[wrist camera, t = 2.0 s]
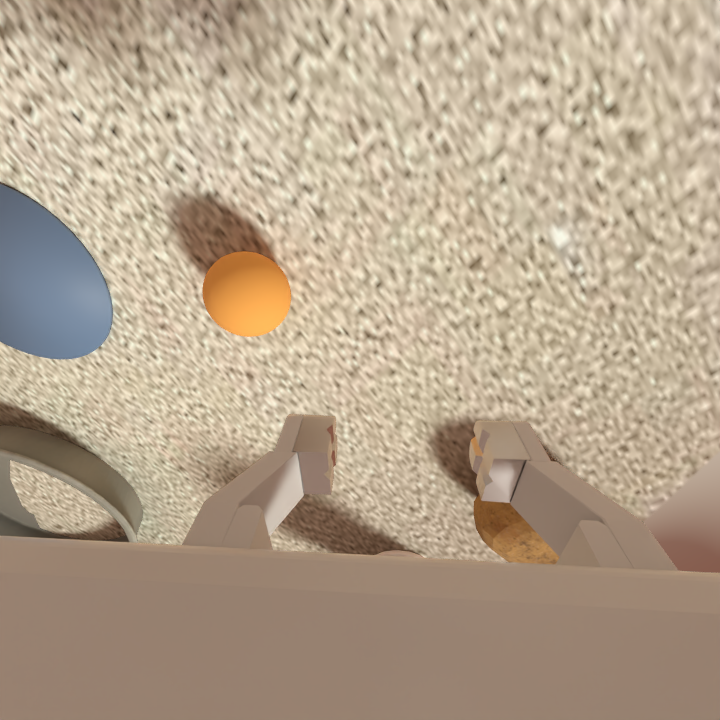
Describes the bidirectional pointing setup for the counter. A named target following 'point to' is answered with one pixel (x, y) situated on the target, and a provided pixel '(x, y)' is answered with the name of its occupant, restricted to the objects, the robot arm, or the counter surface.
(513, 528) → the potato
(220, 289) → the ball
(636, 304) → the counter surface
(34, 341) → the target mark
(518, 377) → the counter surface
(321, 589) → the robot arm
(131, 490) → the grey ring
